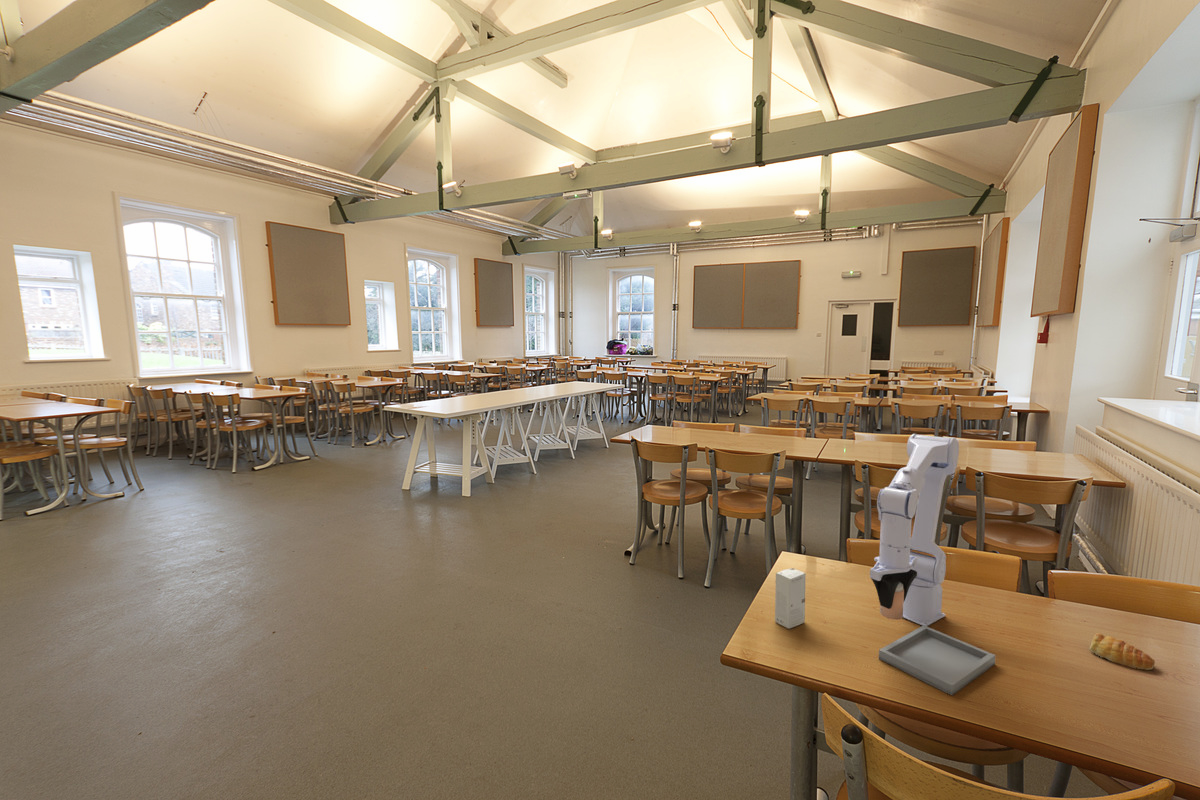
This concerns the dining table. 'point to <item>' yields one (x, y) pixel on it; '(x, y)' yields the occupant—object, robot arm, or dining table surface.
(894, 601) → the shaker
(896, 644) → the tray
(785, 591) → the skincare box
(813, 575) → the dining table surface
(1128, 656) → the pastry
